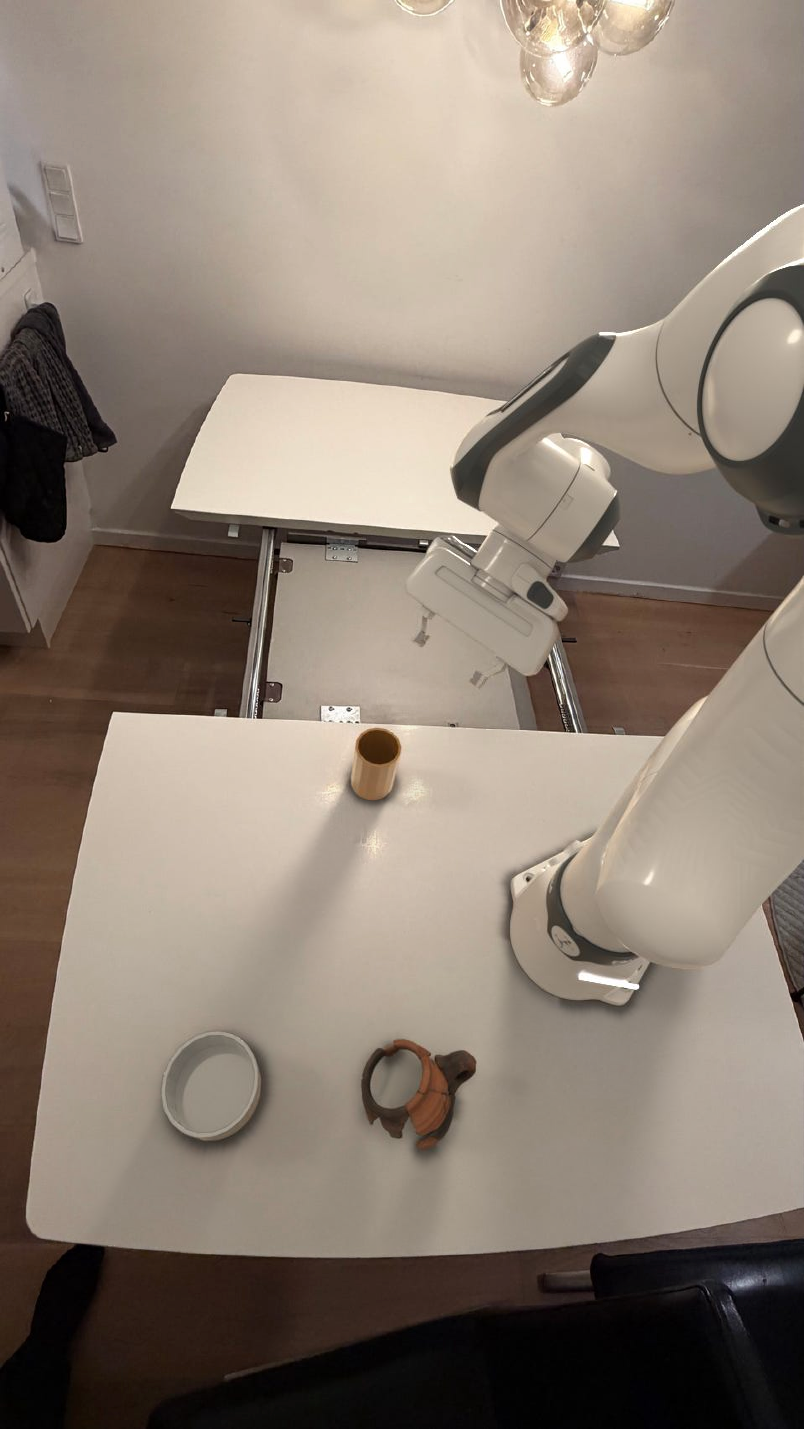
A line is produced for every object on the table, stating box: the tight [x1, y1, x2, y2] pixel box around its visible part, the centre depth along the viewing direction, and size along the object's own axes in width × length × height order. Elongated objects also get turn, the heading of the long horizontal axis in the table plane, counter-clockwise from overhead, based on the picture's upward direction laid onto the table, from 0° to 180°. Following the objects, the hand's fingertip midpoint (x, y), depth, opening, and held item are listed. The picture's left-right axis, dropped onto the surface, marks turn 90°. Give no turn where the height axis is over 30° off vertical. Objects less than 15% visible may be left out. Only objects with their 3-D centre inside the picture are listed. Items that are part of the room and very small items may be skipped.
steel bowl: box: [160, 1030, 262, 1142], centre depth 65 cm, size 9×9×6 cm
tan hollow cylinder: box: [350, 727, 402, 801], centre depth 87 cm, size 6×6×9 cm
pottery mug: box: [360, 1038, 477, 1151], centre depth 68 cm, size 12×10×8 cm
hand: (445, 664), depth 85 cm, fingers open, 8 cm apart
